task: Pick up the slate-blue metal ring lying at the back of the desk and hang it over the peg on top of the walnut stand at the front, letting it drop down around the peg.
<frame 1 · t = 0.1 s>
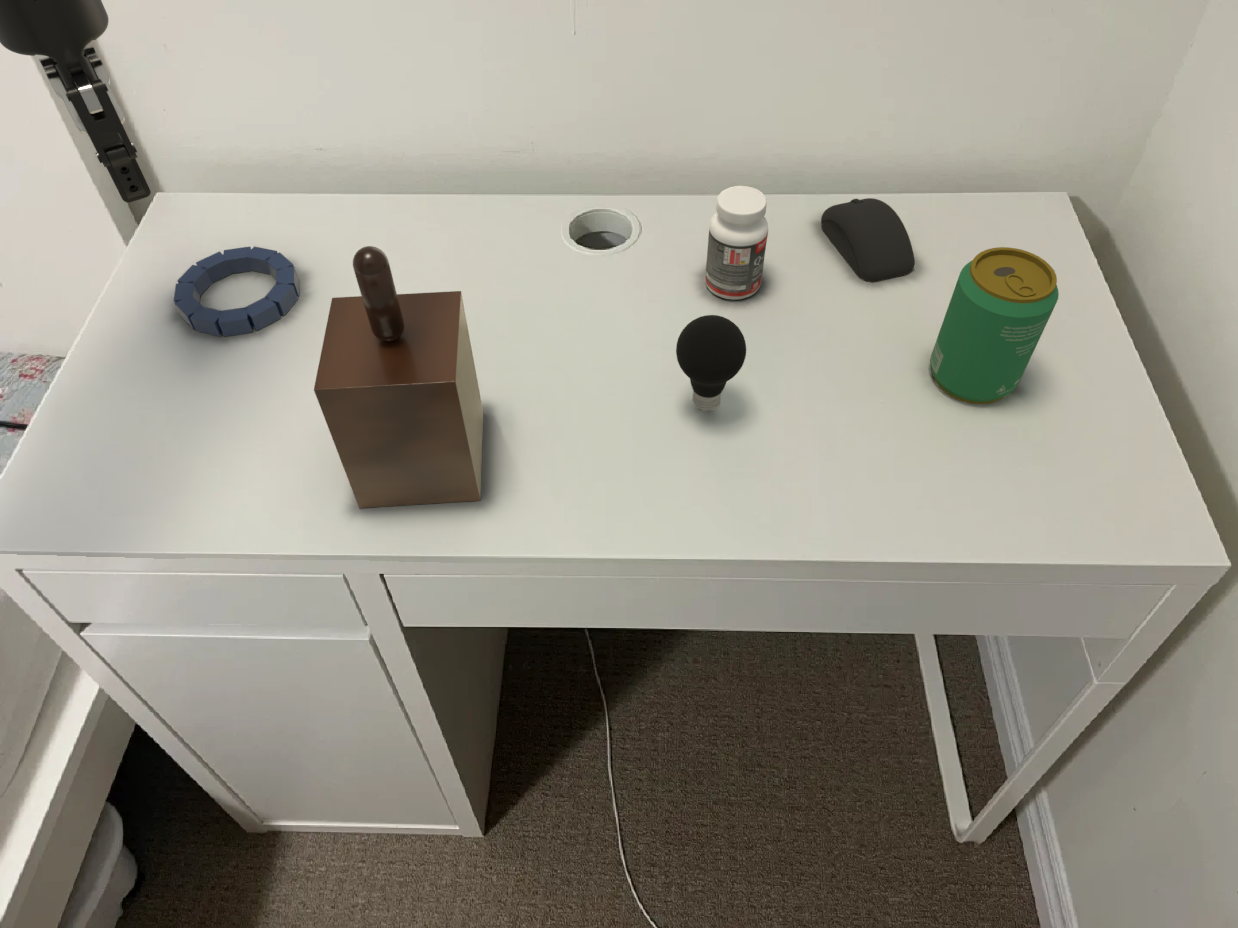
hand: (124, 172, 76), 18 cm above the table, tool pointing down, fingers open, 8 cm apart
stand: (390, 337, 68), on the table
light bulb: (705, 409, 82), on the table
beverage can: (970, 377, 84), on the table
pill bottle: (732, 285, 93), on the table
computer mouse: (865, 247, 97), on the table
ring: (240, 296, 92), on the table
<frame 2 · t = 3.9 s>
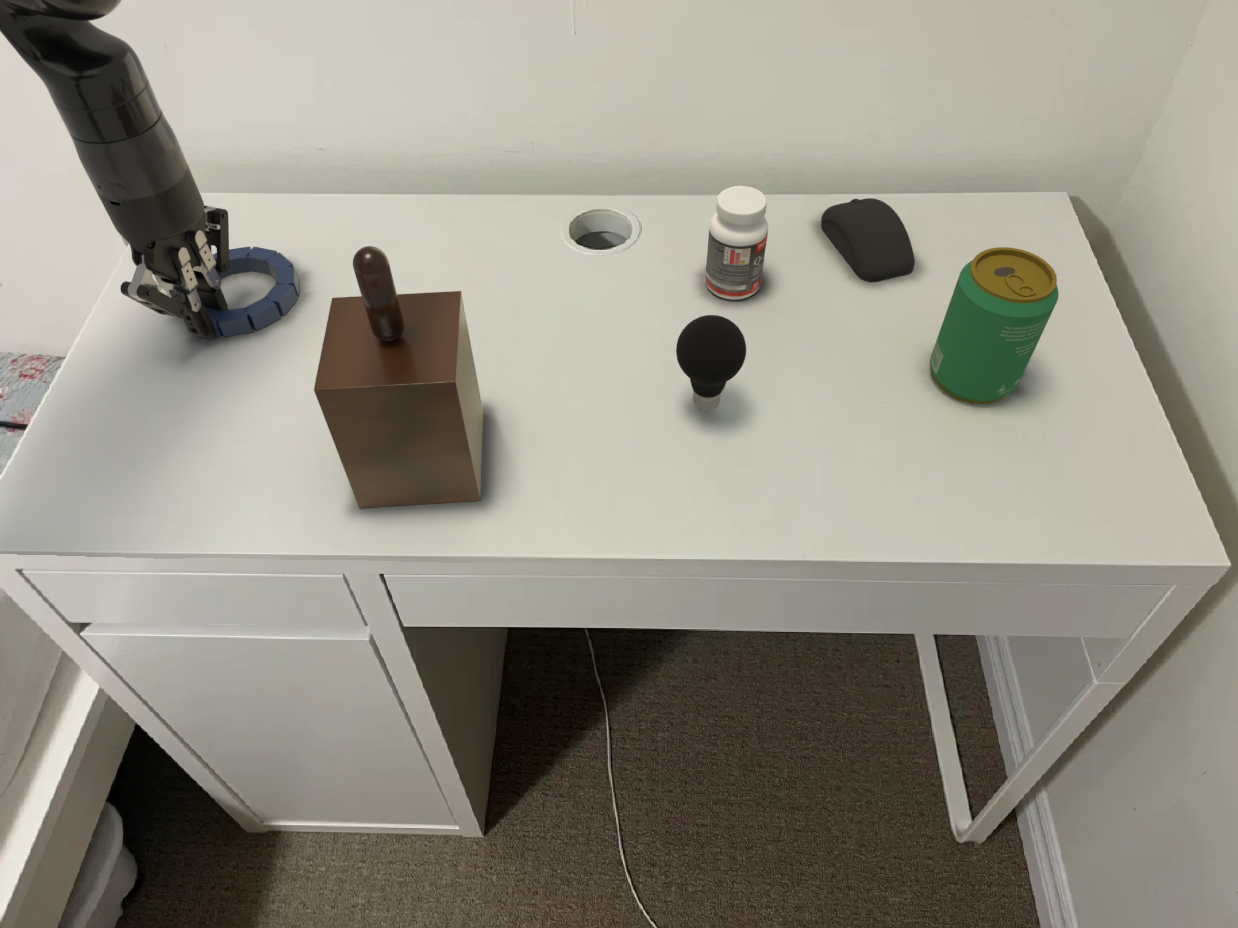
hand: (212, 326, 89), 0 cm above the table, tool pointing down, fingers closed on ring, 2 cm apart
ring: (240, 296, 92), on the table, touching gripper
everything else where it was.
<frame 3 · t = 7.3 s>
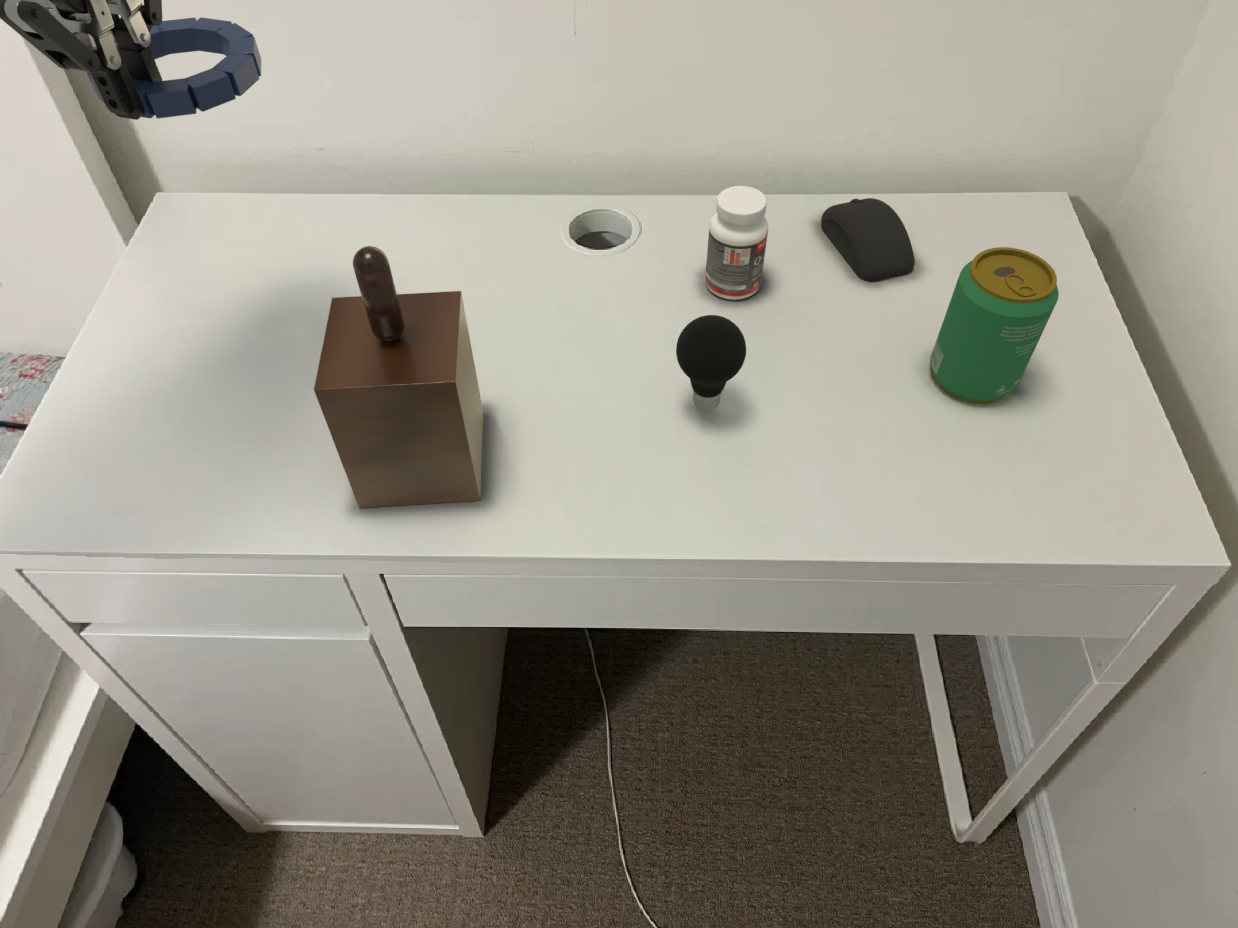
hand: (140, 106, 65), 27 cm above the table, tool pointing down, fingers closed on ring
ring: (181, 77, 68), point 26 cm above the table, touching gripper
everything else where it was.
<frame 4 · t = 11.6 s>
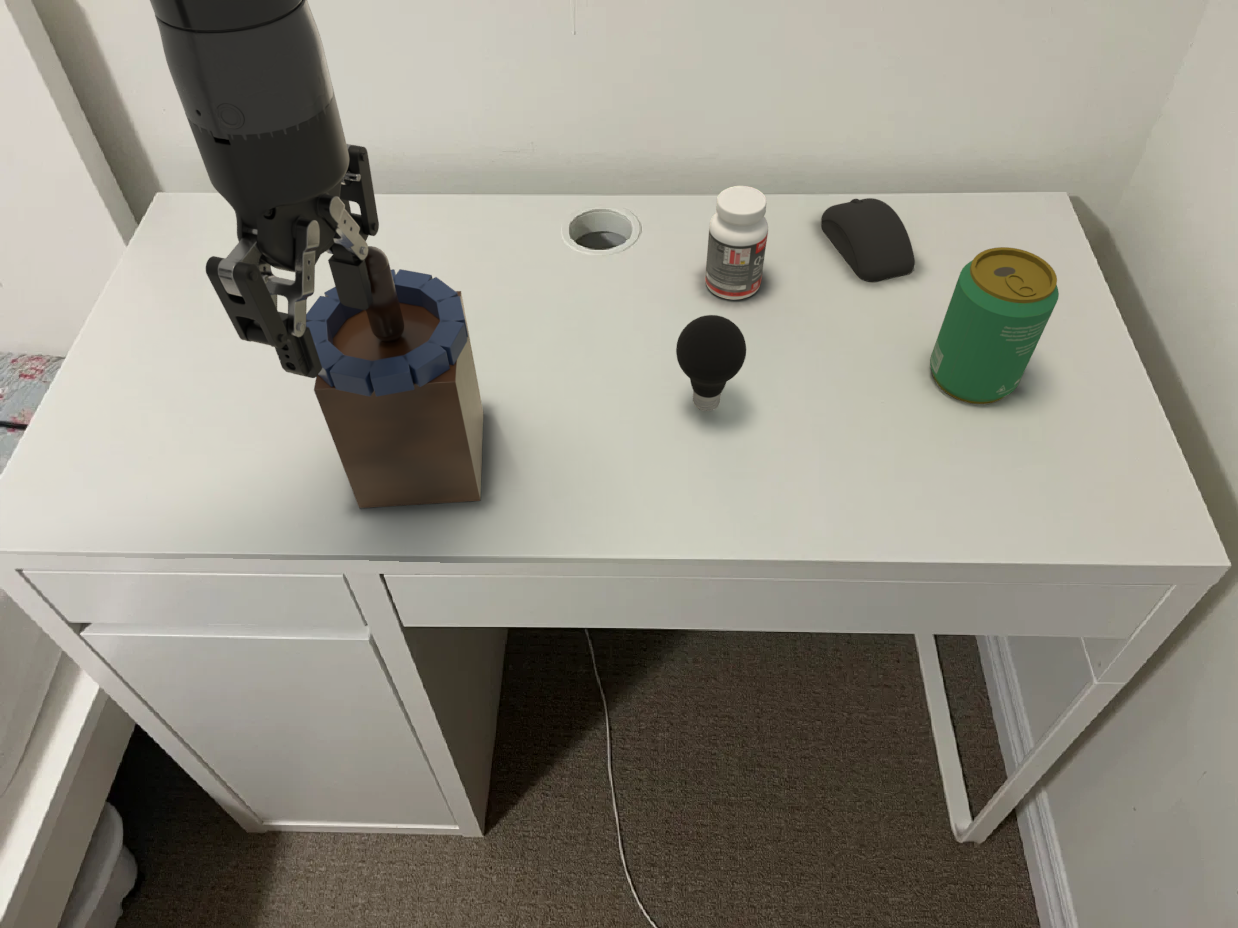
hand: (332, 337, 60), 19 cm above the table, tool pointing down, fingers open, 6 cm apart
ring: (388, 338, 68), point 14 cm above the table, touching stand
everything else where it was.
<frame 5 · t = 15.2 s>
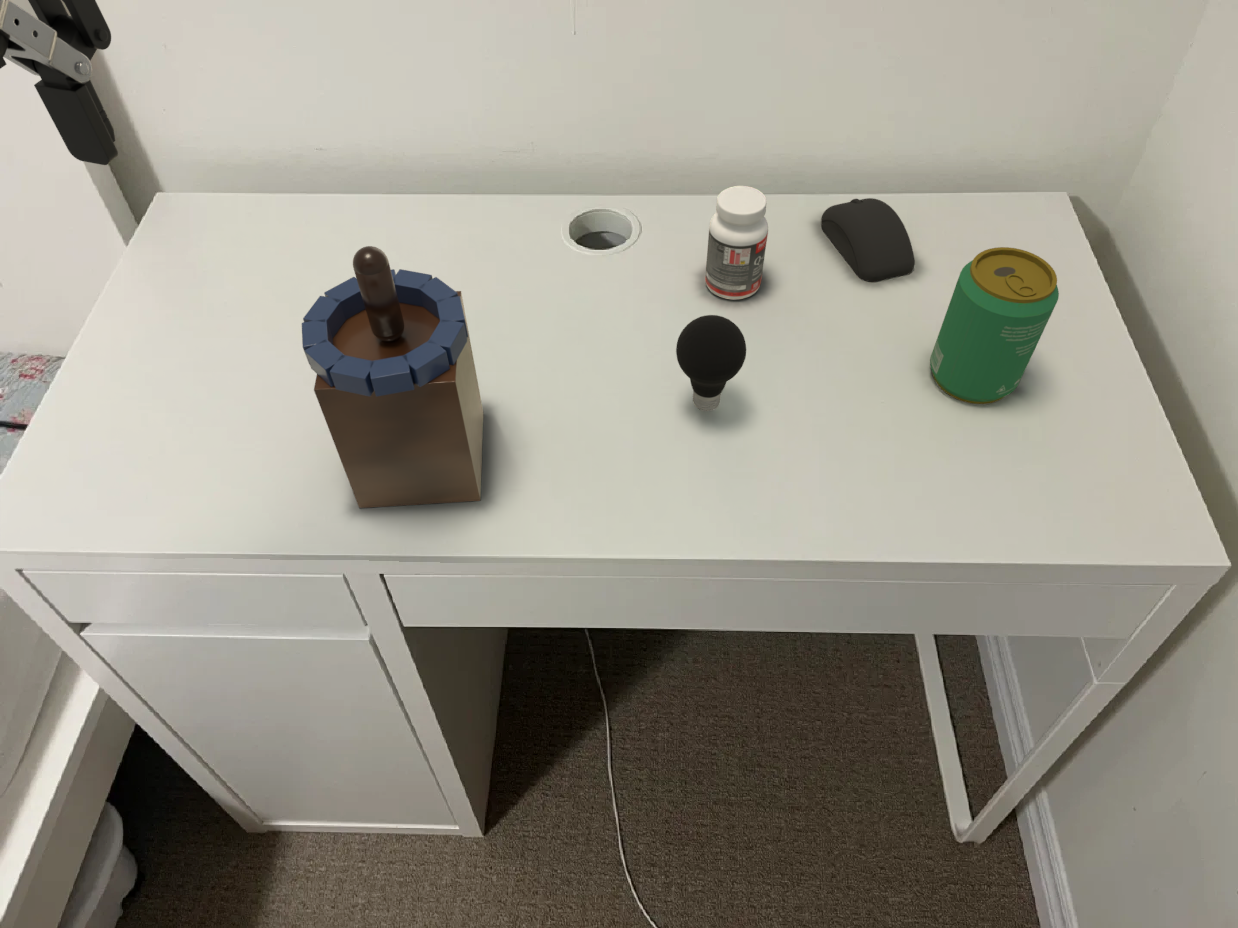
hand: (36, 210, 41), 36 cm above the table, tool pointing down, fingers open, 8 cm apart
nothing on the table moved.
at the end: ring 0.2 cm off-centre on the stand, point 0.0 cm above the stand's base; the gripper is holding nothing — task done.
